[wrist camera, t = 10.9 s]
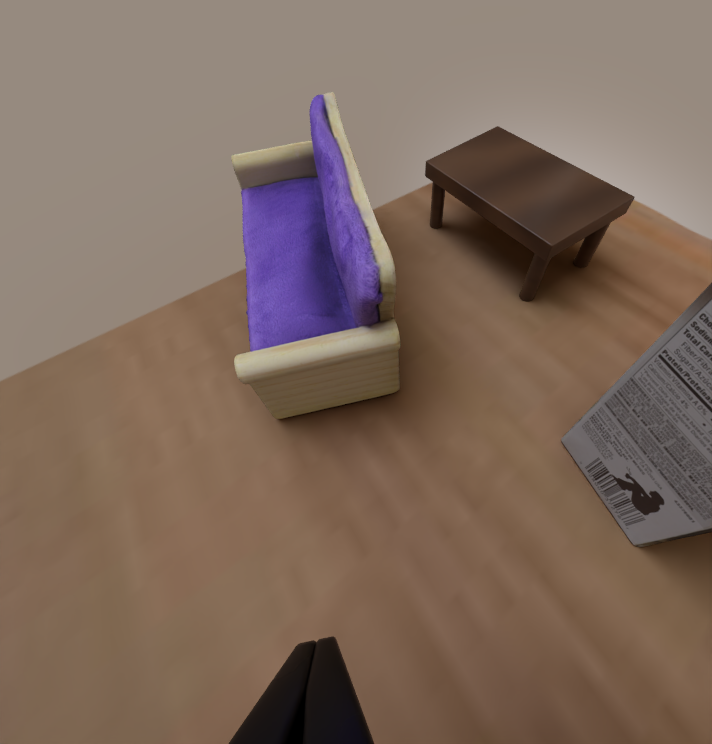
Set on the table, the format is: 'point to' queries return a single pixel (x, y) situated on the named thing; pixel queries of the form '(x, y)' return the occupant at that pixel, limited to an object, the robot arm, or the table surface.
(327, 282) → the toy sofa
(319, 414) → the table surface
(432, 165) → the coffee table
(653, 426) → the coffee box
